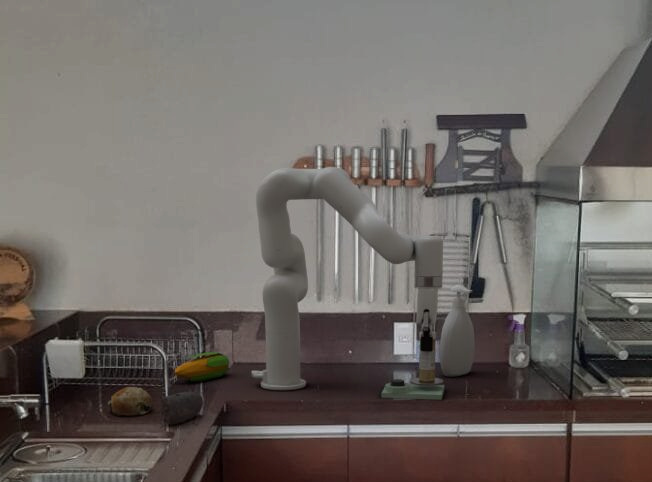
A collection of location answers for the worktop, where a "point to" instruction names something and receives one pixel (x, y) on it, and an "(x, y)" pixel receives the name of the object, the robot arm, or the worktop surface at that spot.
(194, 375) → the corn
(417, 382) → the platter
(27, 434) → the worktop surface
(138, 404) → the bread roll
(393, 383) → the power button
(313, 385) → the worktop surface
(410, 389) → the scale
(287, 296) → the robot arm
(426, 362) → the sprinkles bottle
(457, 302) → the soap bottle
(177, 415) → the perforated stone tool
